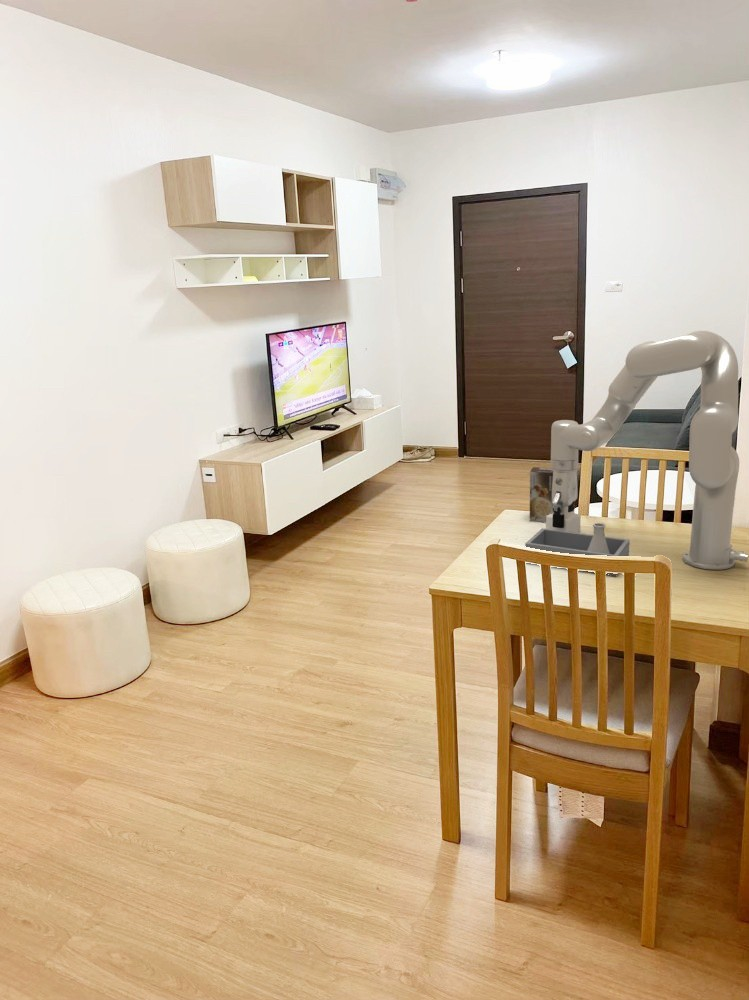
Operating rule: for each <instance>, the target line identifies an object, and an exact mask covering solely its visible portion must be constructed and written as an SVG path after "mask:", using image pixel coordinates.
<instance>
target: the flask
mask: <svg viewBox="0 0 749 1000" xmlns="http://www.w3.org/2000/svg"><path fill="white" fill-rule="evenodd" d="M592 527H593V534H592V535H593V537H592V540H591V543H590V545H589V548H588V550H587V551H591V552H598V553H605V554H610V552H609V549H608V546H607V543H606V540H605V537H606V535H605V528H606V523H603V522H594V523H593V524H592Z"/></svg>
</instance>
